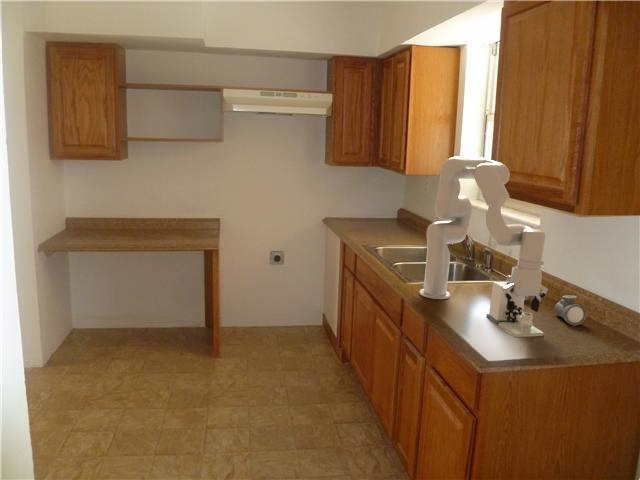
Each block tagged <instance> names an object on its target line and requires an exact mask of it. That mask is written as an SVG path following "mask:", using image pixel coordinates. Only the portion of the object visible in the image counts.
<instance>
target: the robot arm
mask: <svg viewBox="0 0 640 480" xmlns="http://www.w3.org/2000/svg"><path fill="white" fill-rule="evenodd" d="M439 170H440V171H439V184H438V185H439V186H438V189H437V193H436V194H437V195H436V200H435V206H434V214H435V215H436V217H437V218H439V219H441V220H438V221H434V222H431V223H430V224H429V225H428V226H427V228H426V242H427V243H426V245H427V249H426V261H425V271H424V279H423V280H424V282H423V288H421V289H419V295H420V296H422V297H424V298H428V299H432V300H446V299H449V298H450V296H451V293H450V292H449V291H447V290H448V282H449V281H448V280H449V272H450V271H449V270H450V261H451V252H450V249H449V247H448V245H449V244H451V245H452V244H458V243H461V242H463V241H464V240H465V239H466V236H467V233H468V230H469V225H470V219H471V215H472V203H471V200H470V199H469V198H468V197H467V196H465V195H462V194H461V195H460V192H461V181H460V180H459V179H466V180H470V179H473V180H474V181H475V183H476V185H477V187H478V189H479V191H480V193H481V195H482V198H483V200H484V202H485V204H486V211H485V224H486V228H487V230H488V232H489V234H490V236H491V239H492V240H493V241H494V242H495V243H496V244H497V245H498V246H500V247H513V246H515V247H517V246H519V251H518V252H519V253H518V259H517V265H516V266H514V267H515V268H514V270H513V273H512V276H511V280H510V284H509V285H507V286H505V287H503V288H502V290H503V293H504V295H505V297H506V298H507V299H508V300H507V310H508V311H510V312H513V309H514V303H515V302H514V301H513V300H514V299H515V298H516V297H517V296H528V297H533V298H532V300H531V305H530V310H532V311H534V312H535V313H537V312H539V307H540V302H542V300H543V298H544V297H545V296H546V294H547V292H548V291H549V288H548V287H546V286H544V285H542V282H543V281H542V280H543V274H542V273H543V272H542V268H541V266H543V265H544V260H542V259H543V254H544V253H543V252H544V246H545V239H546V233H545V231H543V230H541V229H539V228H532V227H530V226H528V225H525V224H523V223H522V224H521V223H520V224H519V223H516V224H514V223H513V224H506V222H505V220H504V218H503V215H502V206H504V205H505V204H506V203H507V202H508V201H509V200H510V197H511V196H510V194H509V192H508V190H507V188H506V187H505V185H506V184H507V183H508V182H509V180H510V177H511V172H510V170H509V168H508V167H507V165H505V164H504V163H502V162H500V161H499V162H498V161H495V160H491V159H488V158H484V157H477V156H453V157H450V158H448V159H446V160H445V161H444V162H443V164H441V167H440V169H439ZM442 219H443V220H442ZM508 290H509V292H510V293H509V294H508Z"/></svg>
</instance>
